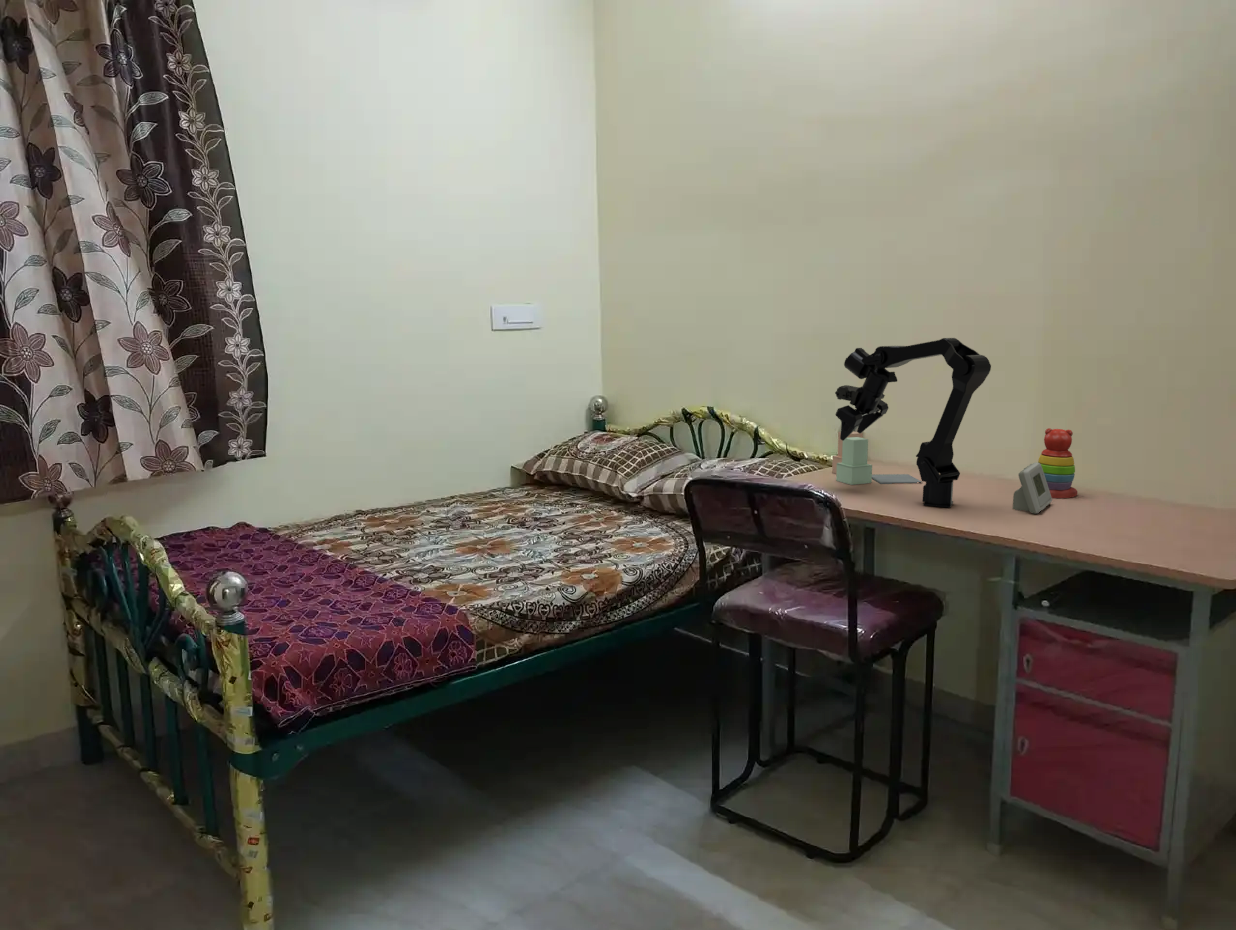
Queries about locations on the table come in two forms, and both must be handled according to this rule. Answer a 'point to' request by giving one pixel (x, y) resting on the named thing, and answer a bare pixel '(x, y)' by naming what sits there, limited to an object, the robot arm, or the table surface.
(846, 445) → the stepped green tower
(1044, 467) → the stacking bear
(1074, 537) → the table surface
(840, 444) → the pink stepped block
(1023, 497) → the digital clock
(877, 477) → the mat
